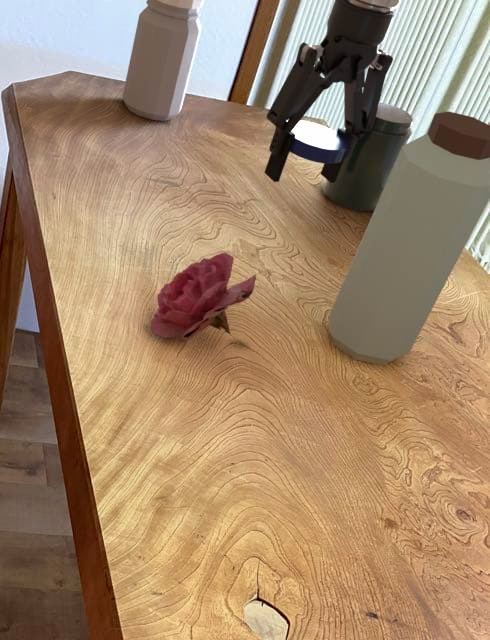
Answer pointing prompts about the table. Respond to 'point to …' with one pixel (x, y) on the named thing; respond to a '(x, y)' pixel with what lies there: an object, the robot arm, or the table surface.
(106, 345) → the table surface
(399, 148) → the spice jar
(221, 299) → the flower
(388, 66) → the robot arm
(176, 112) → the jar
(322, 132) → the lid
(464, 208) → the water bottle
